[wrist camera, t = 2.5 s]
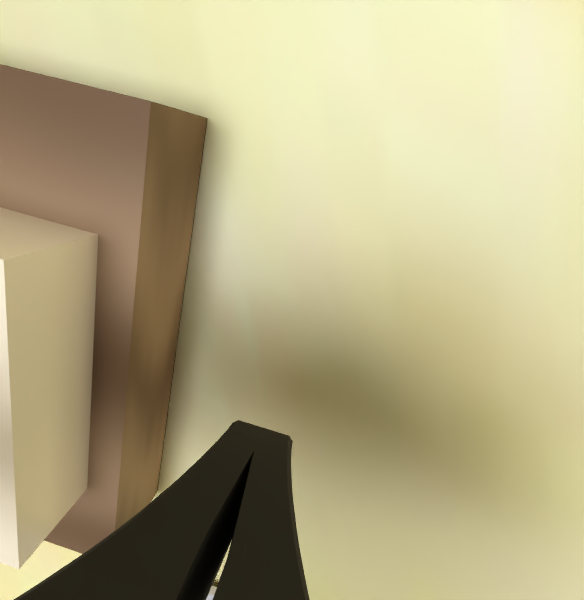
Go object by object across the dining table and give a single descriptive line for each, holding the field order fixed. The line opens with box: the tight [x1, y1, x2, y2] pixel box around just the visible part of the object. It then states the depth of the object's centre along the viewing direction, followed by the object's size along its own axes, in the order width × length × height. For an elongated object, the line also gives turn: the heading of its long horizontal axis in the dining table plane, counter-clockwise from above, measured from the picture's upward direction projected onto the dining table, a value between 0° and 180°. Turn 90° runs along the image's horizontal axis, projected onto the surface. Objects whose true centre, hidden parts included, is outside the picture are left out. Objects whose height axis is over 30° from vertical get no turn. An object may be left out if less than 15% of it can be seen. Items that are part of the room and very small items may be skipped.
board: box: [0, 64, 207, 554], centre depth 12 cm, size 14×10×3 cm
